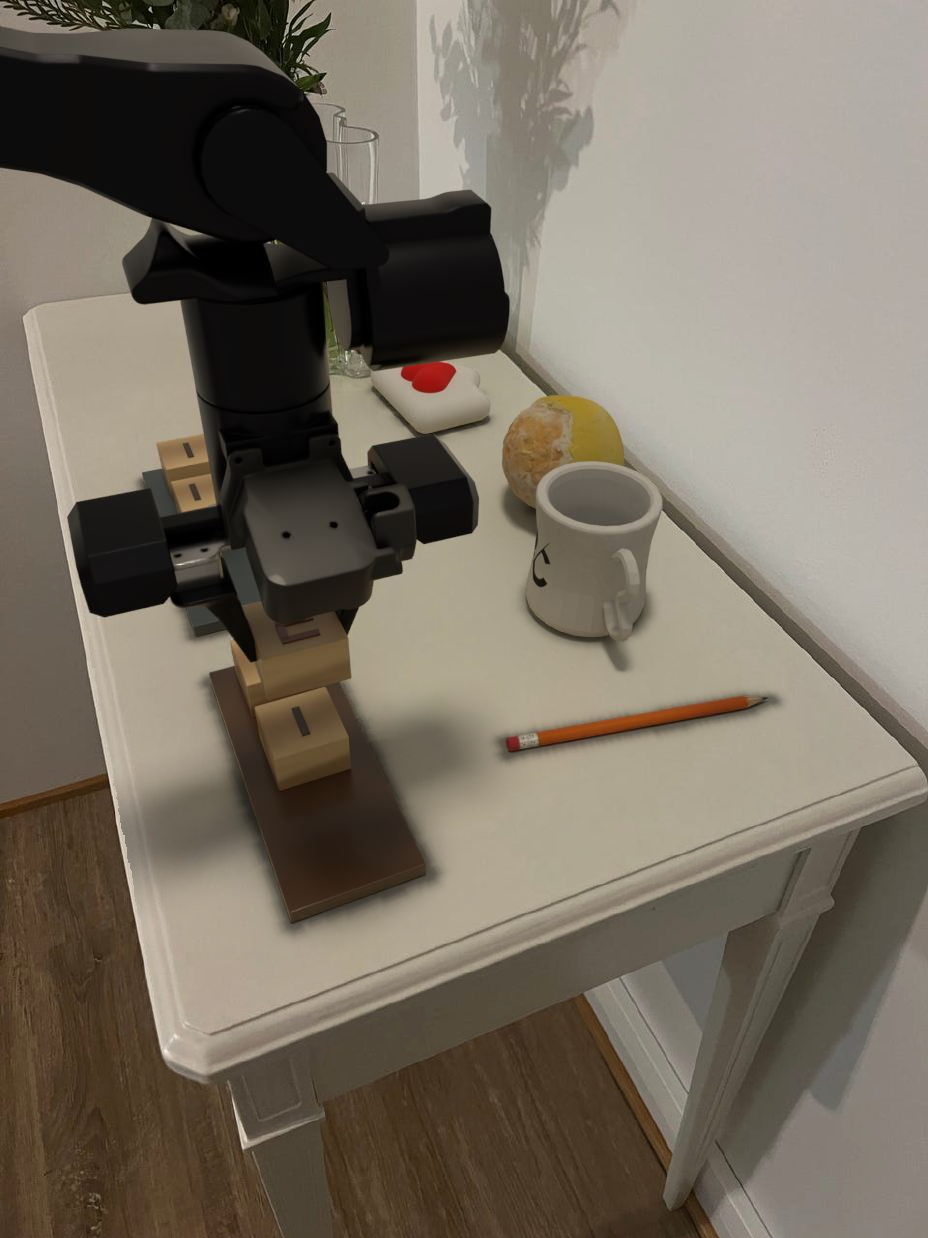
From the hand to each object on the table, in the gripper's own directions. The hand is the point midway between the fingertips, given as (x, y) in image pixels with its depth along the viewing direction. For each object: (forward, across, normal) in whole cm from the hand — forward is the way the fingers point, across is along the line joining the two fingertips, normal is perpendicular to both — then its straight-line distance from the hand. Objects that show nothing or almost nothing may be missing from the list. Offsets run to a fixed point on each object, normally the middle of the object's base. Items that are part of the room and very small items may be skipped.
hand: (296, 645), depth 51 cm
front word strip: (+12, 0, +1) cm, 12 cm away
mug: (+12, +24, +8) cm, 28 cm away
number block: (+1, 0, 0) cm, 1 cm away
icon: (+12, +25, +42) cm, 51 cm away
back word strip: (+12, 0, +27) cm, 30 cm away
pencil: (+12, +22, -3) cm, 25 cm away
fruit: (+12, +28, +21) cm, 37 cm away
